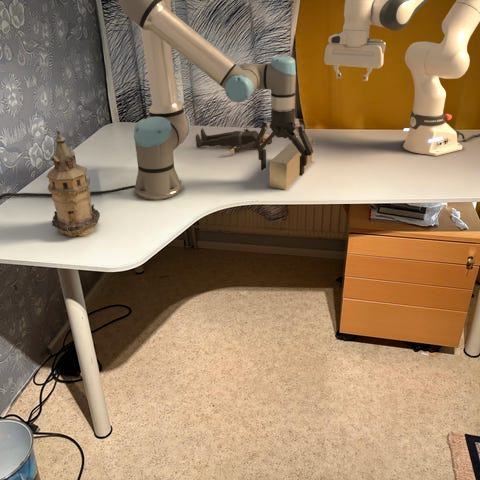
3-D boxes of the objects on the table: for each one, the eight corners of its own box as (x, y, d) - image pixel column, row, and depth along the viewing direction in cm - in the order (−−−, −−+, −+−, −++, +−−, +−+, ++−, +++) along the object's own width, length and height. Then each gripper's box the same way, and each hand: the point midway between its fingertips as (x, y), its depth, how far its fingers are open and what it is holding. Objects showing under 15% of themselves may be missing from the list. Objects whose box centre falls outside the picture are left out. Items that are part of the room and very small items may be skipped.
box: (285, 189, 178) (286, 163, 173) (269, 187, 180) (269, 161, 175) (311, 162, 199) (313, 138, 195) (296, 159, 202) (297, 136, 197)
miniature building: (80, 214, 164) (63, 117, 149) (111, 225, 157) (96, 125, 142) (44, 231, 154) (22, 130, 140) (75, 244, 147) (55, 139, 133)
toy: (206, 122, 226) (276, 122, 220) (207, 136, 229) (277, 136, 223) (189, 142, 204) (266, 142, 198) (190, 157, 207) (267, 158, 201)
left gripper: (324, 108, 167) (321, 172, 177) (251, 102, 176) (252, 163, 186) (317, 115, 161) (314, 180, 171) (242, 108, 170) (243, 170, 181)
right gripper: (388, 38, 180) (383, 80, 187) (329, 34, 187) (326, 75, 194) (384, 41, 175) (379, 84, 182) (323, 37, 183) (321, 79, 189)
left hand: (282, 171), depth 179 cm, fingers open, 13 cm apart
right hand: (351, 79), depth 188 cm, fingers open, 8 cm apart
